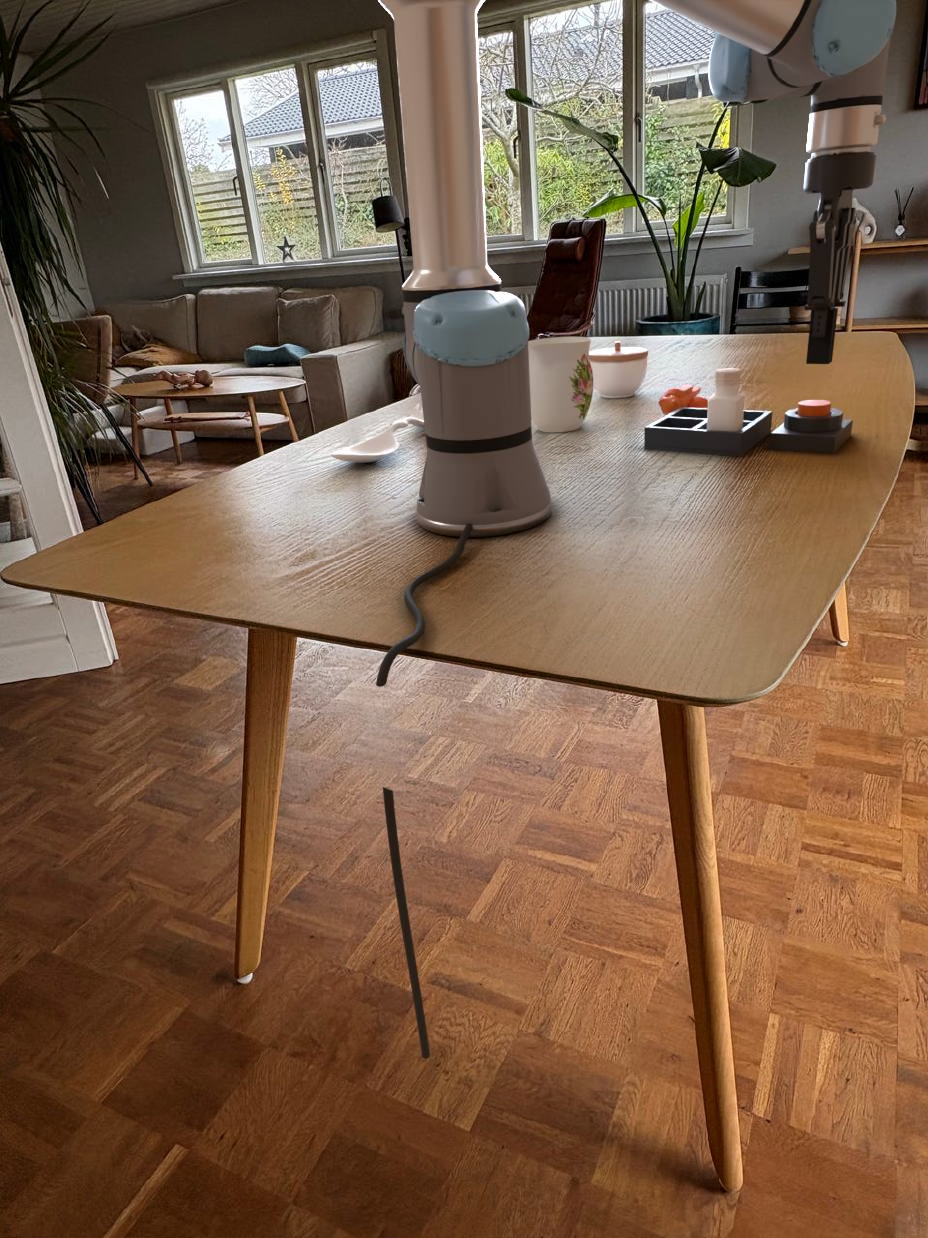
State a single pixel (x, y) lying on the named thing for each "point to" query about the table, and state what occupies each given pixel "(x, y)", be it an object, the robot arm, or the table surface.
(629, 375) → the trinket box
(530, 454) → the robot arm
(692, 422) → the rack
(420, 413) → the spoon
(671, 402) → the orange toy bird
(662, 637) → the table surface
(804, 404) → the button
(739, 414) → the pepper shaker
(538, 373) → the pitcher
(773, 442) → the control block
